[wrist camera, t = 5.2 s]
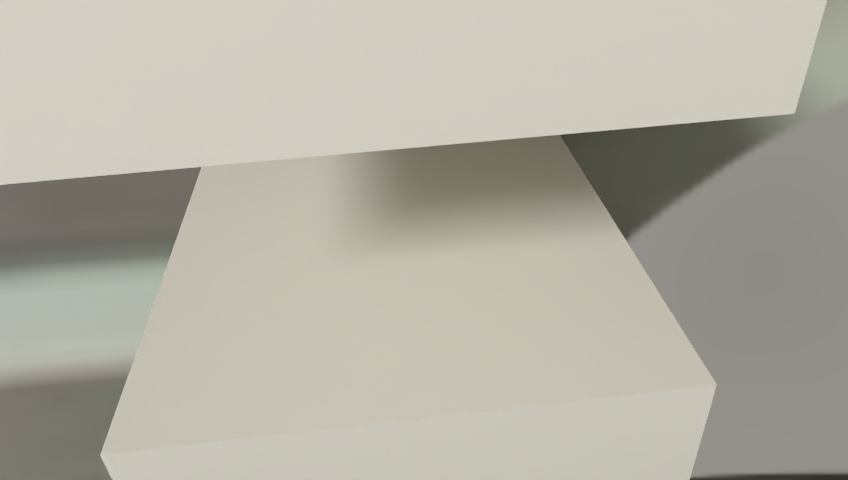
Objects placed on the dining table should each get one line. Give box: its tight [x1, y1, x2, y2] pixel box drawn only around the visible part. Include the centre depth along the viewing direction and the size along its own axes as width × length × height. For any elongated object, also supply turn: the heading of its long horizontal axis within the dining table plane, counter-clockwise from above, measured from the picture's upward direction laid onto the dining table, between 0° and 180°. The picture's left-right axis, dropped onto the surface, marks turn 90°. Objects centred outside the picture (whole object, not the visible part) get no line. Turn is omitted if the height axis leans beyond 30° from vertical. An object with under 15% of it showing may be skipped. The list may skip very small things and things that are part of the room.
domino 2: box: [100, 135, 717, 480], centre depth 9 cm, size 2×5×7 cm, turn 93°
